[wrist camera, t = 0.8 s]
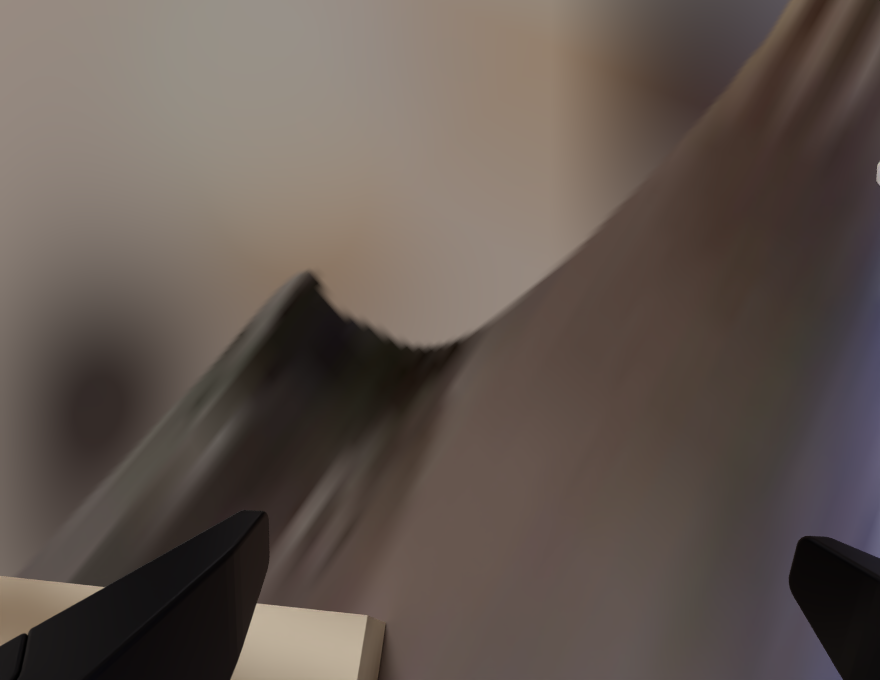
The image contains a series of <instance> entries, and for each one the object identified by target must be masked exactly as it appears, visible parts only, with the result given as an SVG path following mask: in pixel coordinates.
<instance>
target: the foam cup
mask: <svg viewBox="0 0 880 680" xmlns="http://www.w3.org/2000/svg"><path fill="white" fill-rule="evenodd" d="M876 181H877V183H878V184H879V185H880V162H879V164H878V166H877V180H876Z"/></svg>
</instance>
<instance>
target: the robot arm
mask: <svg viewBox="0 0 880 680" xmlns="http://www.w3.org/2000/svg"><path fill="white" fill-rule="evenodd" d="M268 564H269V519H268V515H267V513H266V512H264V511H250V510H243V511H240V512H238V513H236V514H234V515H233V516H231V517H229V518H227V519H225V520H224V521H222V522H220V523H218V524H217V525H215V526H213V527H211V528H209V529H208V530H206V531H204V532H202V533H201V534H199V535H197V536H195V537H193V538H192V539H190V540H188V541H186V542H185V543H183V544H181V545H179V546H177V547H176V548H174V549H172V550H170V551H169V552H167V553H165V554H163V555H161V556H160V557H158V558H156V559H154V560H153V561H151V562H149V563H147V564H145V565H144V566H142V567H140V568H138V569H136V570H135V571H133V572H131V573H129V574H128V575H126V576H124V577H122V578H120V579H119V580H117V581H115V582H113V583H112V584H110V585H108V586H106V587H104V588H103V589H101V590H99V591H97V592H96V593H94V594H92V595H90V596H88V597H87V598H85V599H83V600H81V601H79V602H78V603H76V604H74V605H72V606H71V607H69V608H67V609H65V610H63V611H62V612H60V613H58V614H56V615H55V616H53V617H51V618H49V619H47V620H46V621H44V622H42V623H40V624H39V625H37V626H35V627H33V628H31V629H30V630H29V632H28V635H27V634H26V633H23V634H20V635H19V636H17V637H15V638H13V639H12V640H10V641H8V642H6V643H5V644H3V645H1V646H0V680H230V679H231V677H232V675H233V672H234V670H235V667H236V665H237V662H238V660H239V657H240V654H241V651H242V648H243V645H244V642H245V639H246V635H247V632H248V629H249V626H250V623H251V620H252V617H253V613H254V610H255V607H256V604H257V601H258V598H259V595H260V592H261V588H262V585H263V582H264V579H265V576H266V573H267V569H268ZM789 586H790V590H791V592H792V594H793V596H794V598H795V600H796V601H797V603H798V605H799V606H800V608H801V610H802V611H803V613H804V615H805V617H806V618H807V620H808V622H809V623H810V625H811V627H812V628H813V630H814V632H815V633H816V635H817V637H818V638H819V640H820V642H821V644H822V645H823V647H824V649H825V650H826V652H827V654H828V655H829V657H830V659H831V660H832V662H833V664H834V666H835V667H836V669H837V671H838V672H839V674H840V675H841V677H842V679H843V680H880V558H878V557H875V556H873V555H870V554H868V553H866V552H863V551H861V550H859V549H856V548H854V547H851V546H849V545H847V544H844V543H842V542H840V541H837V540H835V539H832V538H829V537H820V536H804V537H802V538H801V539H800V540H799V541H798V543H797V546H796V550H795V554H794V558H793V562H792V566H791V570H790V574H789Z"/></svg>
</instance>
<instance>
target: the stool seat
mask: <svg viewBox="0 0 880 680" xmlns="http://www.w3.org/2000/svg"><path fill="white" fill-rule="evenodd" d="M103 588H104V587H97V586H88V585H79V584H69V583H60V582H51V581H41V580H32V579H23V578H13V577H4V576H0V646H1V645H3V644H5V643H6V642H8V641H10V640H12V639H13V638H15V637H17V636H19V635H20V634H23V633H26V634H27V635H28V632H29V630H30V629H31V628H33V627H35V626H37V625H39V624H40V623H42V622H44V621H46V620H47V619H49V618H51V617H53V616H55V615H56V614H58V613H60V612H62V611H63V610H65V609H67V608H69V607H71V606H72V605H74V604H76V603H78V602H79V601H81V600H83V599H85V598H87V597H88V596H90V595H92V594H94V593H96V592H97V591H99V590H101V589H103ZM385 625H386V623H385V622H383V621H380V620H378V619H375V618H373V617H370V616H368V615H359V614H349V613H340V612H331V611H321V610H312V609H303V608H293V607H284V606H275V605H265V604H256V607H255V610H254V613H253V617H252V620H251V623H250V626H249V629H248V632H247V635H246V639H245V642H244V645H243V648H242V651H241V654H240V657H239V660H238V662H237V665H236V667H235V670H234V672H233V675H232V677H231V679H230V680H378V673H379V666H380V660H381V653H382V646H383V639H384V632H385Z"/></svg>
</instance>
